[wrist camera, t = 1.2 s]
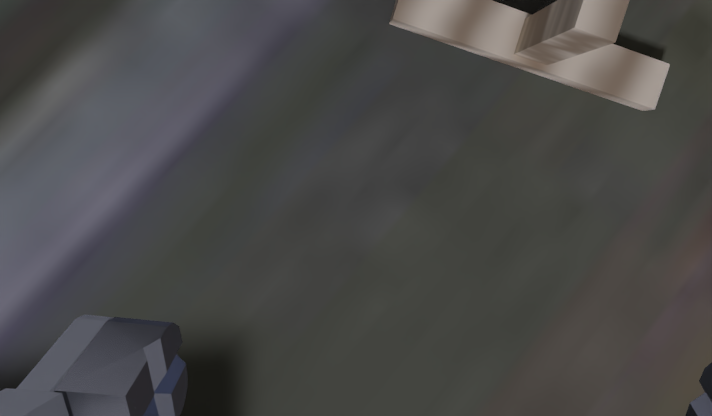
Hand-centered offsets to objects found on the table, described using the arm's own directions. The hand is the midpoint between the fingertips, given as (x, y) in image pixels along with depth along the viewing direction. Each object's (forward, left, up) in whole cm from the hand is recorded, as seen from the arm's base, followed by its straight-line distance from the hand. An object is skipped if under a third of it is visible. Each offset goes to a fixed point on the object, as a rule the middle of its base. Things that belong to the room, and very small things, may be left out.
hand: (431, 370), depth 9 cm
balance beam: (-4, +21, -39) cm, 44 cm away
